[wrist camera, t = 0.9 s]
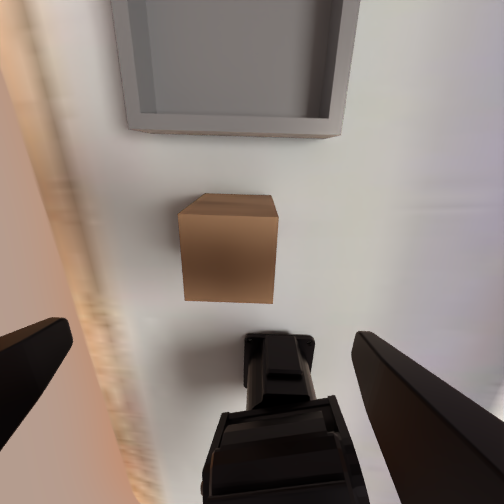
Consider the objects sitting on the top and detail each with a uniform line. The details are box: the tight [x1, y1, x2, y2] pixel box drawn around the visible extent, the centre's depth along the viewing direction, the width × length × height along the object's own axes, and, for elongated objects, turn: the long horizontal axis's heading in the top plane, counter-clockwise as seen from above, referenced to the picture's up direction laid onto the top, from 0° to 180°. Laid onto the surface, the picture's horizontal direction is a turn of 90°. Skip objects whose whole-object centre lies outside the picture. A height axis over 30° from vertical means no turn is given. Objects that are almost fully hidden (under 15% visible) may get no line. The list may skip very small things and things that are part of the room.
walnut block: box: [178, 193, 279, 304], centre depth 17 cm, size 5×5×7 cm
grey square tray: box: [111, 0, 360, 139], centre depth 14 cm, size 12×12×4 cm
